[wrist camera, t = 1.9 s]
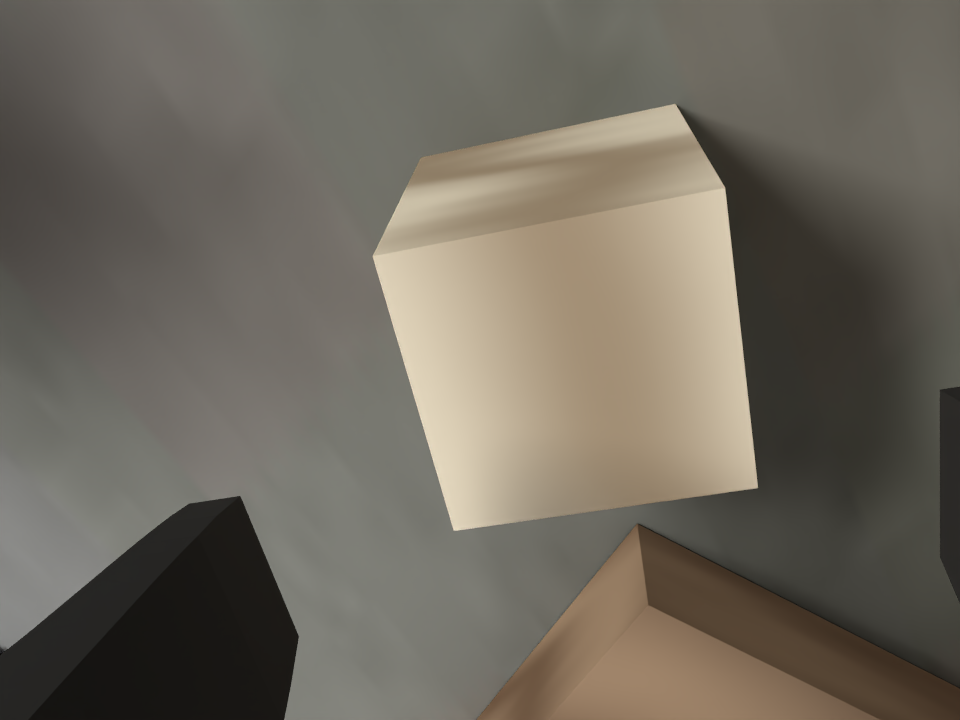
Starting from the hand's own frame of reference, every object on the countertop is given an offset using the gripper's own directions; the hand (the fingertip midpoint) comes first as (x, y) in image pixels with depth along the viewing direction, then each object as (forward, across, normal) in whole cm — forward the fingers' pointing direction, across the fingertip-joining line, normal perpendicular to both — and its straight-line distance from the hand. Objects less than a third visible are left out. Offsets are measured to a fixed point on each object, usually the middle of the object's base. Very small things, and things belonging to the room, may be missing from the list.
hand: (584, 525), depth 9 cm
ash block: (+8, 0, 0) cm, 8 cm away
